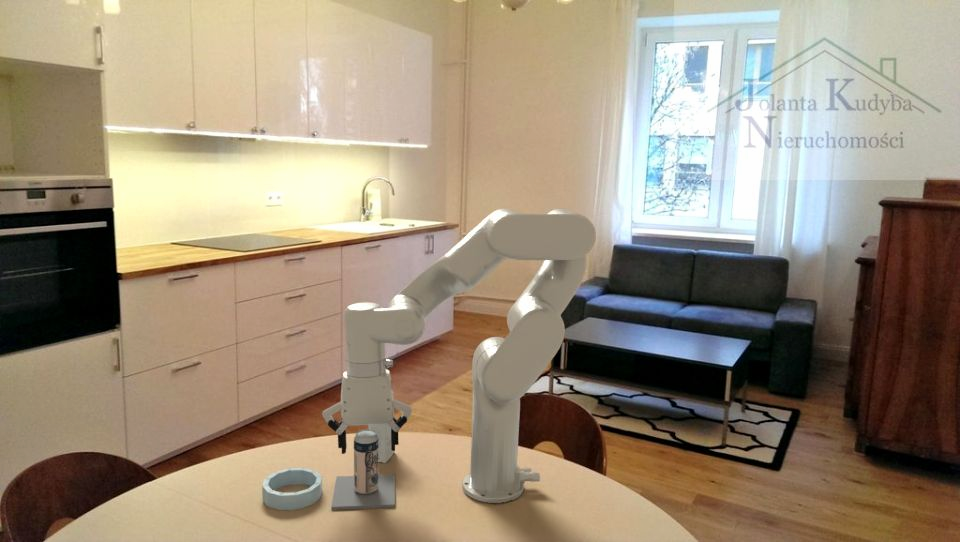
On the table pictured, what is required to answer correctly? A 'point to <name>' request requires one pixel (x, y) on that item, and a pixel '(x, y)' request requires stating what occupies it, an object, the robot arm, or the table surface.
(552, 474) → the table surface
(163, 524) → the table surface
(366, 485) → the beer can
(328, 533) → the table surface
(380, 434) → the skincare box
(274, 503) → the light blue ring
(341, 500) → the mat
